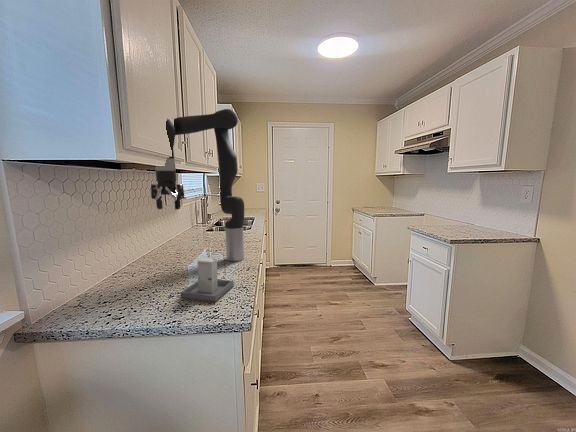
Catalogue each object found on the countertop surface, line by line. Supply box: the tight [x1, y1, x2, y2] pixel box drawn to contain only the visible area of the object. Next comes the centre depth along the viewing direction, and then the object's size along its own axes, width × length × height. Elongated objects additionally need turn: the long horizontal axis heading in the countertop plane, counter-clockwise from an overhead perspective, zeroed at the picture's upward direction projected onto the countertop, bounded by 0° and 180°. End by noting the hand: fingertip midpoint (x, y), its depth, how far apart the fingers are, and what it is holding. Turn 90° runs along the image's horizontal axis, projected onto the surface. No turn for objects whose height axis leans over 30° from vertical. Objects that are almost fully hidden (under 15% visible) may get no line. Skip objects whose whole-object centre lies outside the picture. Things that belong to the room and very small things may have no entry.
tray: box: [179, 278, 235, 304], centre depth 99 cm, size 14×14×2 cm
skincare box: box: [197, 257, 218, 293], centre depth 99 cm, size 6×4×12 cm
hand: (168, 209), depth 110 cm, fingers open, 8 cm apart
